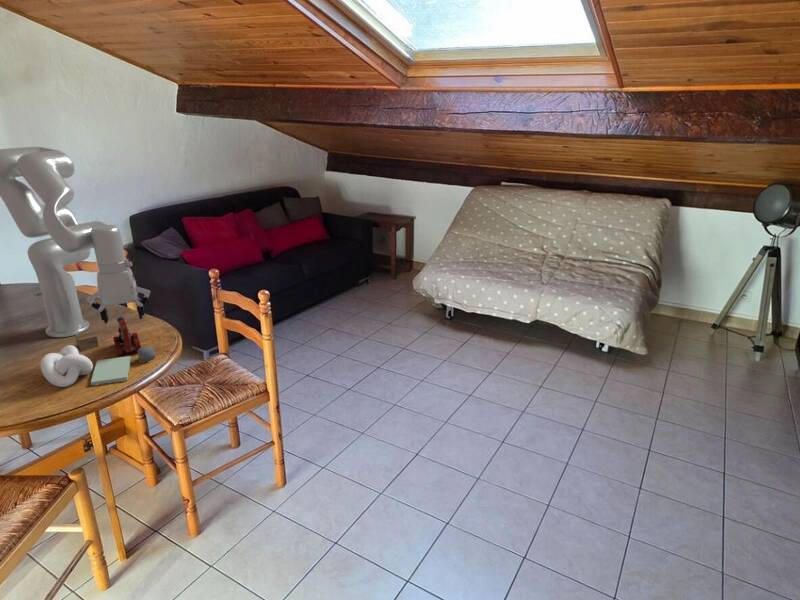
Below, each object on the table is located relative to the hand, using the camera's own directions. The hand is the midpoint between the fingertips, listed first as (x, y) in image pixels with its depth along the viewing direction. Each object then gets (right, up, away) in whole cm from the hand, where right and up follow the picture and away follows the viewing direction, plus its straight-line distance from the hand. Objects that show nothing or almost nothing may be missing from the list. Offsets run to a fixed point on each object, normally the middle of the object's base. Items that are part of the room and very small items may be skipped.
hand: (124, 319), depth 158 cm
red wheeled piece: (-1, -10, +4) cm, 11 cm away
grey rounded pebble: (+8, -12, -1) cm, 15 cm away
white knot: (-9, -17, -12) cm, 23 cm away
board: (+1, -15, -9) cm, 17 cm away
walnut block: (-14, -9, +5) cm, 18 cm away
